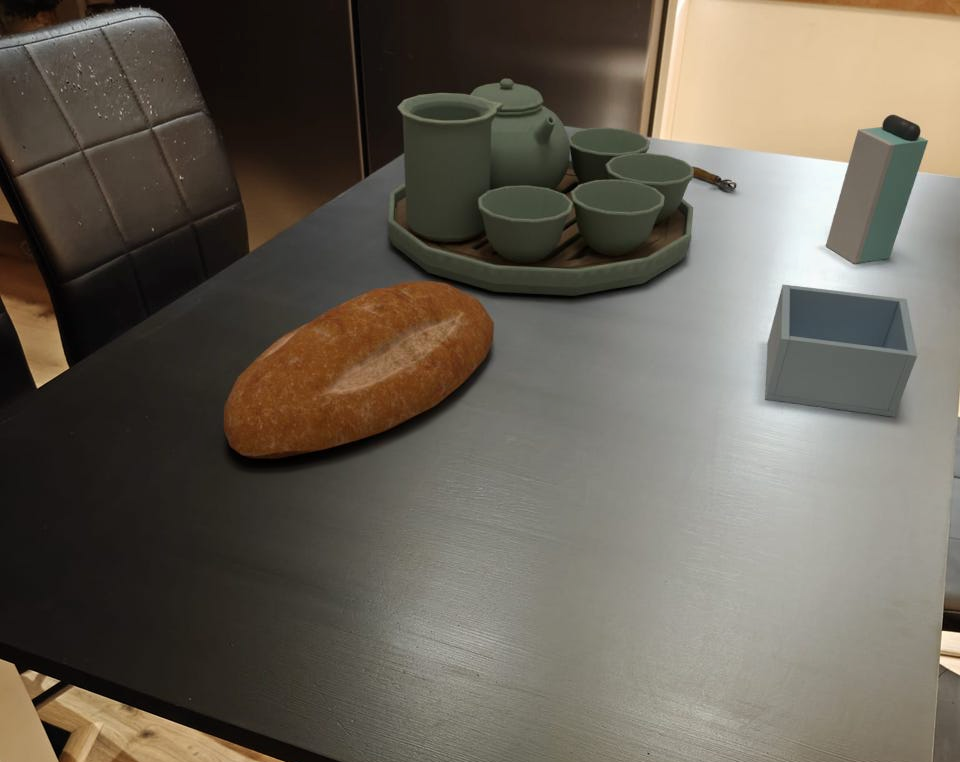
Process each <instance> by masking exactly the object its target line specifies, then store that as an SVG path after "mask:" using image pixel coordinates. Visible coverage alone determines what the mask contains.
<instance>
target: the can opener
mask: <svg viewBox="0 0 960 762" xmlns="http://www.w3.org/2000/svg"><path fill="white" fill-rule="evenodd" d="M692 167H693V168H694V174H693V177H697V178H699V179H701V180H702V179H703V180H706V181H709V182H711V183H714V184H718V186H719V187H720V188H723V189H725V190H729V191H730V190H731V191H736V190H737V189H736V188H737V184H738V183H737V182H735V181H733V182H732V180H731V179H728V178H727V179H722V178H721V176H719V175H716V174H714V173H711V172H709V171H707V170H705V169H703V168H701V167H697V166H692Z"/></svg>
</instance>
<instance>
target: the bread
mask: <svg viewBox="0 0 960 762" xmlns="http://www.w3.org/2000/svg"><path fill="white" fill-rule="evenodd" d="M494 331H495V322H494V321H493V319H492V317H491V316H490V314H489V313H488V311H487V310H486V308H485V306H484V305H483V303H481V301H480V300H479V299H478V298H477V297H475V296H472V295H470V294H469V293H466V292H464V291H462V290H460V289H459V288H456V287H454V286H452V285H450V284H448V283H445V282H439V281H432V280H423V281H421V280H419V281H404V282H400V283H397V284H394V285H391V286H388V287H380V288H379V287H378V288H377V287H376V288H374V289H372V290H369V291H367V292H365V293H362V294H360V295H358V296H356V297H353V298H352V299H349V300H347V301H345V302H343V303H341V304H339V305H337V306H335V307H333V308H331V309H329V310H327V311H326V312H324V313H322V314H321V315H319V316H317V317H316V318H314V319H312V320H311V321H309V322H307V323H305V324H303V325H301V326H299V327H298V328H295V329H293V330H291V331H289V332H287V333H285V334H283V336H281V337H280V338H279V339H277V340H276V341H275V342H273V344H271V345H270V346H269V347H268V348H266V349H265V350H264V351H263V352H262V353H261V354H260V355H258V356H257V357H256V359H254V360H253V362H252V363H250V364H249V366H248V367H246V368H245V369H244V371H242V372H241V373H240V375H239V376H238V377H237V379H236V381H235V383H234V384H233V387H232V388H231V392H230V393H229V395H228V397H227V399H226V401H225V403H224V405H223V431H224V433H225V436H226V440H227V442H228V445H229V447H230V448H232V450H234V451H235V452H237V453H238V454H239V455H241V456H243V457H247V458H249V459H256V460H257V459H263V460H264V459H265V460H267V459H269V460H270V459H271V460H272V459H273V460H275V459H276V460H277V459H281V458H287V457H292V456H298V455H303V454H308V453H314V452H318V451H324V450H328V449H331V448H335V447H338V446H342V445H346V444H350V443H353V442H356V441H359V440H362V439H364V438H365V439H366V438H368V437H371V436H374V435H378V434H381V433H383V432H386V431H388V430H391V429H393V428H395V427H398V426H399V425H401V424H403V423H405V422H407V421H409V420H410V419H412V418H414V417H417V416H418V415H420V414H422V413H424V412H426V411H428V410H430V409H431V408H434V407H436V406H437V405H439V403H440V402H442V401H444V399H445V398H447V397H448V396H449V395H450V394H451V393H453V392H454V391H455V390H456V389H458V388H459V387H460V386H462V384H464V383H465V382H466V381H467V380H468V379H469V378H470V377H471V375H472V374H473V373H474V372H475V371H476V370H477V368H478V367H479V366H480V365H481V363H483V362H484V360H485V359H486V358H487V356H488V353H489V351H490V349H491V347H492V344H493V341H494V333H495V332H494Z"/></svg>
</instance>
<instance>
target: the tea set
mask: <svg viewBox="0 0 960 762" xmlns="http://www.w3.org/2000/svg"><path fill="white" fill-rule="evenodd" d="M543 104H544V99H543V96H542V94H541V93H540V92H539V91H538V90H537V89H535V88H533V87H531V86H529V85H525V84H519V83H515V82H514V81H513V80H512V79H510V78H503V79H501V81H499V82H493V83H487V84H484V85H480V86H478V87H476V88H474V89H473V91H472V92H471V93H470V94H466V93H455V92H454V93H450V92H436V93H427V94H417V95H415V96H412V97H408V98H406V99H403V100H402V101H401V102H400V103H399V105H397V109H398V111H399V112H400V114H401V115H402V125H403V126H402V131H403V132H402V133H403V160H404V183H403V184H401V185H400V186H398V187H396V188H395V189H393V190H392V191H391V192H390V193H389V197H388V200H389V201H388V221H387V225H388V227H387V228H388V237H389V239H390V241H391V244H392V245H393V247H395V248H396V249H397V250H399V251H400V252H402V253H403V254H404V255H405V256H406V257H407V258H409V259H411V260H412V261H413V262H414V263H416V264H417V265H418V266H419V267H420V268H422V269H423V270H424V271H425V272H427V273H429V274H432V275H435V276H438V277H443V278H446V279H450V280H453V281H455V282H460V283H464V284H466V285H470V286H474V287H477V288H481V289H484V290H487V291H491V292H494V293H515V294H533V295H534V294H535V295H553V296H571V297H572V296H575V297H576V296H581V295H586V294H591V293H597V292H603V291H607V290H608V291H609V290H614V289H620V288H625V287H626V288H627V287H631V286H637V285H642V284H643V285H644V284H645V283H646V282H648V281H650V280H652V279H654V278H655V277H656V276H659V275H660V274H661V273H663V272H664V271H666V270H668V269H669V268H671V267H672V266H674V265H676V264H678V263H680V262H681V261H683V260H684V258H685V257H686V255H687V254H688V252H689V249H690V246H691V245H690V243H691V239H692V230H693V217H694V206H692V205H691V204H690V203H689V202H687V200H685V199H684V195H685V193H686V190H687V188H688V185H689V184H690V182H691V181H692V180H693V178H694V175H693V174H694V168H693V167H694V166H692V165H690V164H689V163H688V162H687V161H685V160H683V159H680V158H676V157H673V156H670V155H666V154H660V153H659V154H658V153H649V152H648V151H649V149H650V145H651V144H650V143H651V141H650V140H649V139H648V138H647V137H645V136H644V135H642V134H641V133H638V132H635V131H631V130H628V129H623V128H615V127H588V128H584V129H580V130H575V131H573V132H572V133H570V135H568V132H567V129H566V128H565V125H564V124H563V123H564V122H562V121H561V119H560V118H559V117H558V115H557V114H556V113H555V112H553V110H550V109H549V108H547V107H546V106H544V105H543Z"/></svg>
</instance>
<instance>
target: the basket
mask: <svg viewBox="0 0 960 762" xmlns="http://www.w3.org/2000/svg"><path fill="white" fill-rule="evenodd" d="M775 308H776V309H775V313H774V316H773V321H772V325H771V329H770V332H769V336H768V339H767V349H766V350H767V351H766V353H767V354H766V372H765V393H764V394H765V395H764V399H765V400H769V401H775V402H781V403H789V404H790V403H791V404H798V405H804V406H805V405H806V406H811V407H818V408H819V407H820V408H827V409H833V410H841V411H846V412H847V411H848V412H856V413H862V414H868V415H869V414H870V415H878V416H883V417H884V416H885V417H891V418H895V416H896V414H897V410H898V408H899V405H900V402H901V400H902V397H903V395H904V392H905V389H906V387H907V384H908V381H909V379H910V376H911V373H912V371H913V368H914V366H915V363H916V361H917V357H918V353H917V348H916V347H917V346H916V343H915V338H914V337H915V336H914V332H913V331H914V330H913V327H912V322H911V316H910V315H911V314H910V311H909V305H908V299H907V298H902V297H899V298H898V297H893V296H892V297H891V296H884V295H875V294H867V293H858V292H850V291H842V290H834V289H825V288H817V287H809V286H801V285H792V284H791V285H790V284H782V285H781V289H780V293H779V296H778V301H777V304H776V307H775Z"/></svg>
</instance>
